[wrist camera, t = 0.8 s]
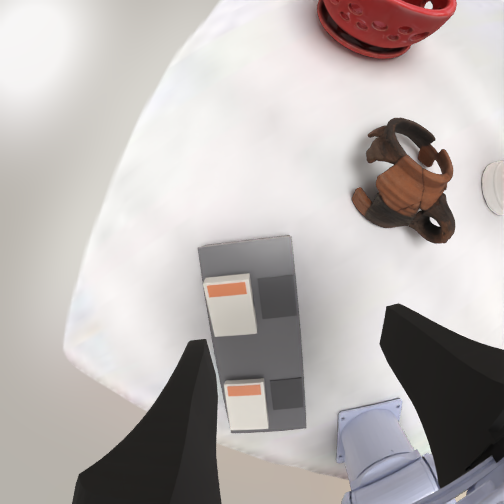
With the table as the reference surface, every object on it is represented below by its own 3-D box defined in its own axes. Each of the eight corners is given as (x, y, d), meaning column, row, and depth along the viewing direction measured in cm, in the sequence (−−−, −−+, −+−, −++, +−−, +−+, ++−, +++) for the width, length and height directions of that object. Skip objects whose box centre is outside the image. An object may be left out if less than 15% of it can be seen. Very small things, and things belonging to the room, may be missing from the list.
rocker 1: (257, 324, 25) (256, 334, 24) (217, 328, 25) (214, 337, 24) (249, 272, 23) (248, 279, 22) (206, 276, 24) (202, 284, 22)
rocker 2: (268, 422, 25) (268, 429, 23) (232, 424, 25) (230, 430, 24) (264, 377, 25) (263, 382, 24) (226, 379, 26) (223, 384, 24)
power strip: (304, 412, 29) (306, 429, 26) (234, 417, 30) (230, 434, 26) (289, 235, 27) (291, 236, 24) (205, 245, 28) (197, 248, 25)
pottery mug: (323, 182, 27) (358, 122, 19) (375, 152, 30) (409, 103, 23) (404, 278, 24) (464, 243, 17) (442, 231, 27) (490, 194, 20)
